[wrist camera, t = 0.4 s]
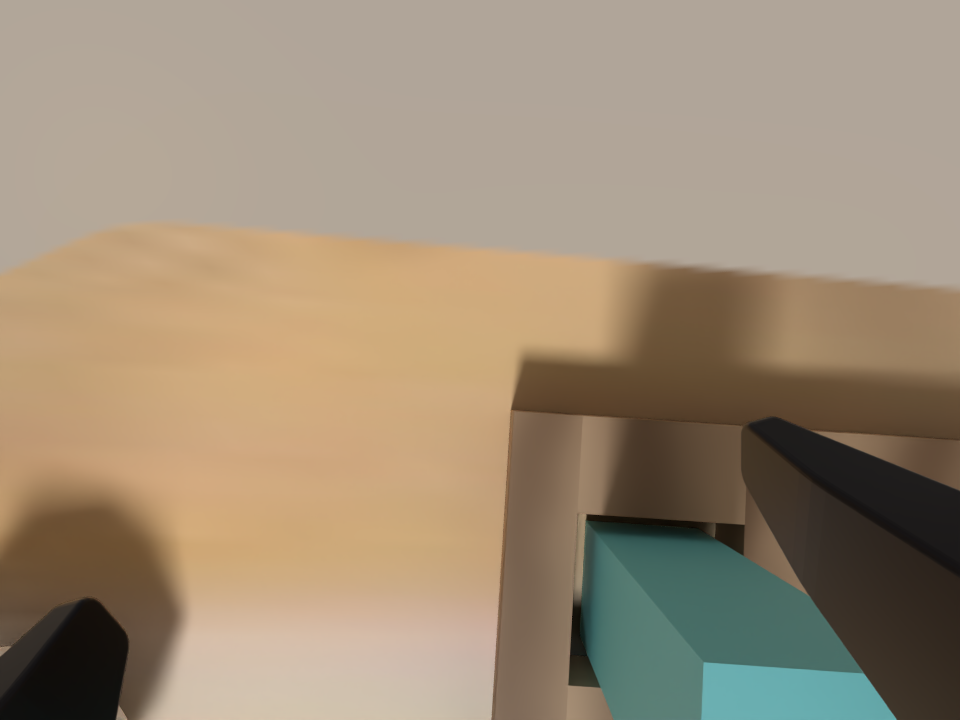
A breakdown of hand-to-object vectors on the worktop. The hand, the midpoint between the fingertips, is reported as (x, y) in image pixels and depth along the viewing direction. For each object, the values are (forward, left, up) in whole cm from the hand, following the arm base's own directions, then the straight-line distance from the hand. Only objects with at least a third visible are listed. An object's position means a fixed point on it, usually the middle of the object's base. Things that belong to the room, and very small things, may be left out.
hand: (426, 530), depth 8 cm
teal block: (-9, -1, -16) cm, 18 cm away
